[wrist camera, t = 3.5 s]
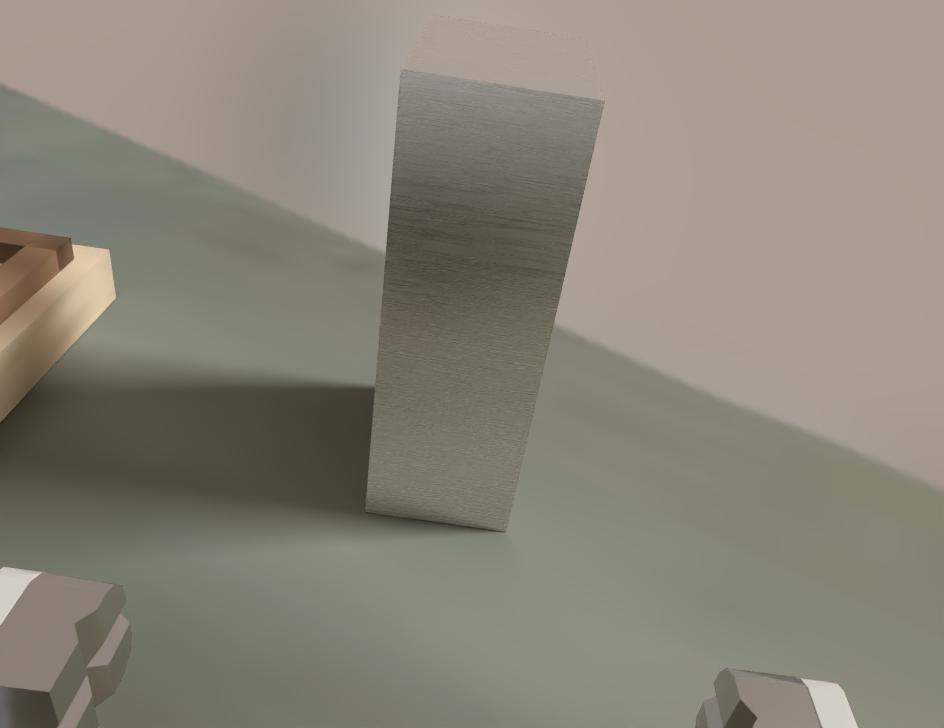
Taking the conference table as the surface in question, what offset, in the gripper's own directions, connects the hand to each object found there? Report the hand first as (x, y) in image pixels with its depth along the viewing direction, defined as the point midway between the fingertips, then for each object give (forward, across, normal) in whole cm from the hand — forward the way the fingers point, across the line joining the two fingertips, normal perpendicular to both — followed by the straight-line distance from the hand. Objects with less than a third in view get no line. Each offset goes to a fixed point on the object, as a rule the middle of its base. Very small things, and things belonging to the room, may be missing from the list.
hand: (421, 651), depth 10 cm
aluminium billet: (+12, 0, +7) cm, 14 cm away
